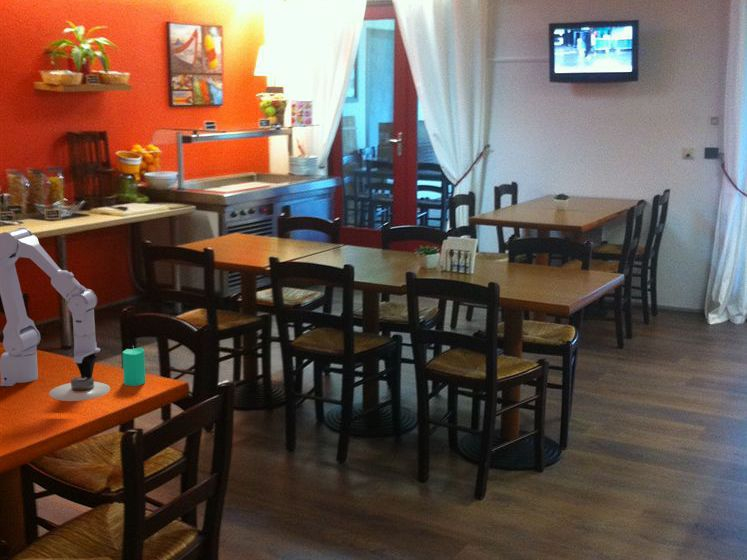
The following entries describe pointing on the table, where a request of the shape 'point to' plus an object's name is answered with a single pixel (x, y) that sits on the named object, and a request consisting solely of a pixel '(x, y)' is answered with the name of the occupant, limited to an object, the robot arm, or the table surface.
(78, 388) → the cover
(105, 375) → the table surface
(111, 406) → the table surface
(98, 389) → the cream flat disc
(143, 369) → the candle
